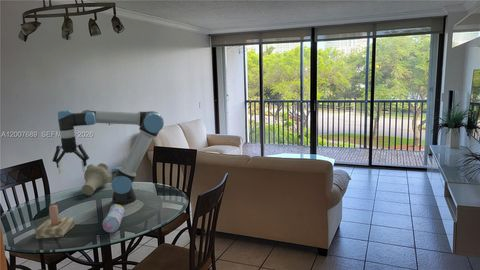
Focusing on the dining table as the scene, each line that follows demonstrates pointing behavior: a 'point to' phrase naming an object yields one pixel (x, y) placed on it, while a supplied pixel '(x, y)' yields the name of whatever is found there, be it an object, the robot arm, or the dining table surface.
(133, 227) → the dining table surface
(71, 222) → the socket block
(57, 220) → the peg
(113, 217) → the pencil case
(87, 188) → the vase
